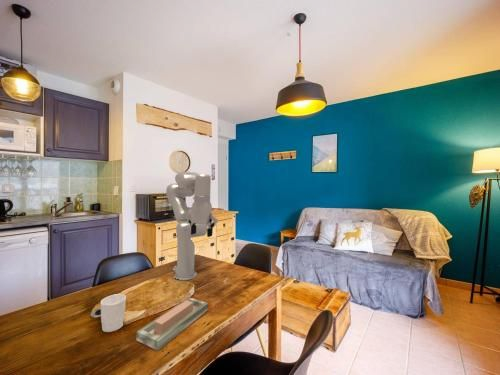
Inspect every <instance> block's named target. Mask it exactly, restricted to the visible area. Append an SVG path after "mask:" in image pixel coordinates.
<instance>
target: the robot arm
mask: <svg viewBox="0 0 500 375" xmlns="http://www.w3.org/2000/svg"><path fill="white" fill-rule="evenodd" d="M174 179H175V182H176V183H175V182H174V183H171V184H169V185H167V186H166V191H165V192H166V198H167V200H168V203H169V204H170V205H171V207H172V211H173V214H174V218H175V220H176V222H177V224H176V226H175V233H176V238H177V239H176V240H177V241H176V242H177V247H176V248H177V251H176V253H177V255H176V256H177V257H176V265H174V266H173V268H172V271H174V272H175V273H174V275H173V278H174V279H175V278H176V279H175V280H177V279H179V280H178V281H191V280H192V279H195V278H196V277H197V276H198V273H197V271H195V251H196V249H195V248H196V247H195V246H196V245H195V242H193V240H192V239H191V238H195V237H196V238H197V237H204V236H205V235H206V236H207V237H208V238H210V237H213V232H214V231H213V229H214V227H215V226H216V225H217V223H218V218H216V217H215V216H213V206H212V203H211V186H212V185H211V182H212V180H211V175H210V174H204V173H197V172H191V171H179V172H177V174H175V177H174ZM182 197H183V198H184V197H185V198H187V197H192V199H193V200H194V202H192V205H191V206H190V207H189V206H188V205H187V202H186V201H185V200H184V199H183V198H182Z"/></svg>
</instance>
